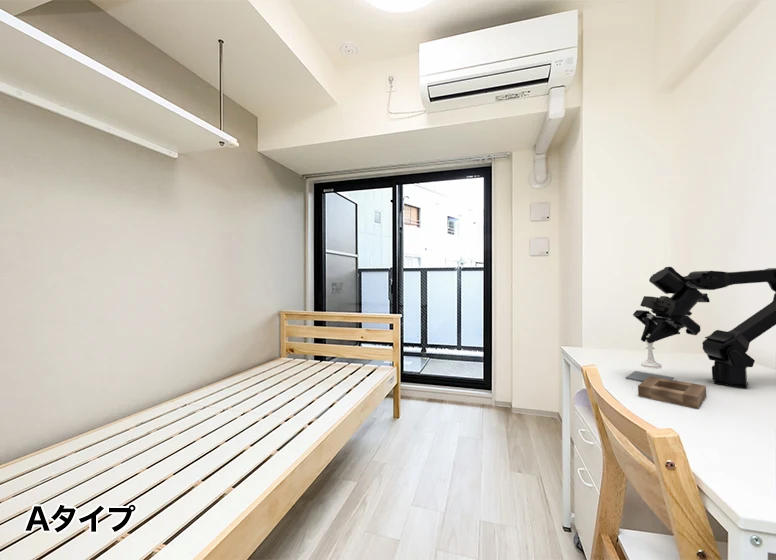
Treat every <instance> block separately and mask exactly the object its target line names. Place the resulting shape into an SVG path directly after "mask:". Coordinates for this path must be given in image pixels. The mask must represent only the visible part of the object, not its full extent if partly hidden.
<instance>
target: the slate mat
mask: <svg viewBox="0 0 776 560" xmlns="http://www.w3.org/2000/svg"><path fill="white" fill-rule="evenodd" d="M650 376H652V377H657V378H663V379H669V380H675V379H674V377H673V376H668V375H664V374H663V375H662V374H656V373H651V372H645V371H638V370H634V371H633V372H631V373H630V374H629V375H627V376H625V380H630V381H631V380H632V381H636V382H640V383H642V382H643V381H644V380H646V379H647V378H648V377H650Z"/></svg>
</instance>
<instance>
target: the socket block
mask: <svg viewBox="0 0 776 560" xmlns="http://www.w3.org/2000/svg"><path fill="white" fill-rule="evenodd" d="M637 393H638V394H637V396H638V397H641V398H645V399H649V400H654V401H659V402H663V403H669V404H673V405H679V406H683V407H688V408H692V409H697V410H699V409H700V407H701V406H702V404H703V403H704V401H705V400H706V398H707V385H702V384H697V383H692V382H687V381H680V380H675V379H673V380H669V379H663V378H657V377H652V376H650V377H648V378H647V379H646V380H644V381H643V382H640V383H639V384H638V385H637Z"/></svg>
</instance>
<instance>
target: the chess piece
mask: <svg viewBox="0 0 776 560" xmlns="http://www.w3.org/2000/svg"><path fill="white" fill-rule="evenodd" d="M650 335H651V334H648V336H646V337H649V336H650ZM645 343H646V345H647V346H646V347H645V349H646V350H647V359H646V360H645V361H642V362H641V364H640V366H641V367H643V368H647V369H653V370H654V369H655V370H657V369H662V368H663V367H662V364H661V363H658V362H657V361H656V360H655V358H654V352H653V350H655V347H653V345H654V342H652V343H648V342H647V340H646V341H645Z"/></svg>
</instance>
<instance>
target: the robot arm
mask: <svg viewBox="0 0 776 560" xmlns="http://www.w3.org/2000/svg"><path fill="white" fill-rule="evenodd" d="M649 283H651V284H652V285H654V286H655V288H657V289H658V290H660V291H662V293H664V294H666V295H660V296H659V297H658V296H657V297H656V296H647V295H645V296H643V298H642V301H641V302H640V305H639V306H641V307H642V308H647V309H650V311H651V312H650V311H649V310H643V309H637V310H635V311H634V312H633V314H632V316H633V317H634V318H635V319H637V320H638V321H639V322H640V323H642V324H643V325H644V329H643V332H642V335H641V338H640V340H641V342H645V343H646V340H647V342H648V343H652V342H655V343H656V342H657V341H658V342H659V341H660V340H664V339H665V338H666V339H667V338H669V337H672V336H673V337H674V336H676V335H680V334H681V332H680V331H681V329H684V328H686V329H685V333H686V334H687V335H691V336H697V335H698V334H699V333H700V332H701V325H699V324H698V323H697V322H696V321H695V320H693V318H691V317H690V316H692V314H693V313H692V312H691V311H692V309H693V308H694V307H695V306H696V305H697V303H710V298H709V296H708V293H702V292H701V291H700V290H702V291H707V290H708V291H715V290H719V289H724V288H727V287H730V286H733V285H743V284H746V285H747V284H755V283H756V284H757V283H767V284H768V286H769V287H770V289H771V291H773V292H775V293H774V294H773V298H772V301H770V303H768V304H767V305H766V306H764V307H763V308H761V309H760V310H758V311H757V312H755V313H754V314H753V315H751V316H750V317H748V318H747V319H745V320H743V322H741V323H740V324H738V325H737V326H735V327H734V328H732V329H730V330H729V331H726V330H720V329H716V330H715V331H713V332H712V333H710V335H707V336H705V337H704V338H705V339H704V340H703V341H702V350H703V352H704V353H705V354H706V355H707V357H708V360H710V361H714V363H713V365H712V366H711V374H712V375H711V376H712V377H711V379H712V381H713V383H714V384H717V385H721V386H729V387H735V388H740V389H747V388H748V385H749V381H748V375H747V373H748V372H747V368H753V367H754V364H755V361H756V360H755V359H754V358H752V357H751V356H750V355H749V354H748V353H747V352H748V351H749V347H750V343H751V342H752V341H755V340H756V339H757V338H758V337H760V336H761V335H763V334H765V332H767V331H768V330H770V329H772V328H773V327H775V326H776V267H773V268H772V267H769V268H765V269H756V270H755V269H753V270H743V271H742V270H740V271H732V272H731V271H730V272H729V271H723V270H722V271H719V270H697V271H691V272H689V273H688V274H687V275H684V276H683V275H681V274H680V273H679V272H678V271H677V270H675V268H673V267H672V266H665V267H664V268H663V269H661V270H658V271H657V272H656V273H653V274H652V275H651V276H650V277H649ZM669 294H671V296H667V295H669ZM654 314H655V315H654ZM648 334H651V335H650V336H649V337H646V336H648Z"/></svg>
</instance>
